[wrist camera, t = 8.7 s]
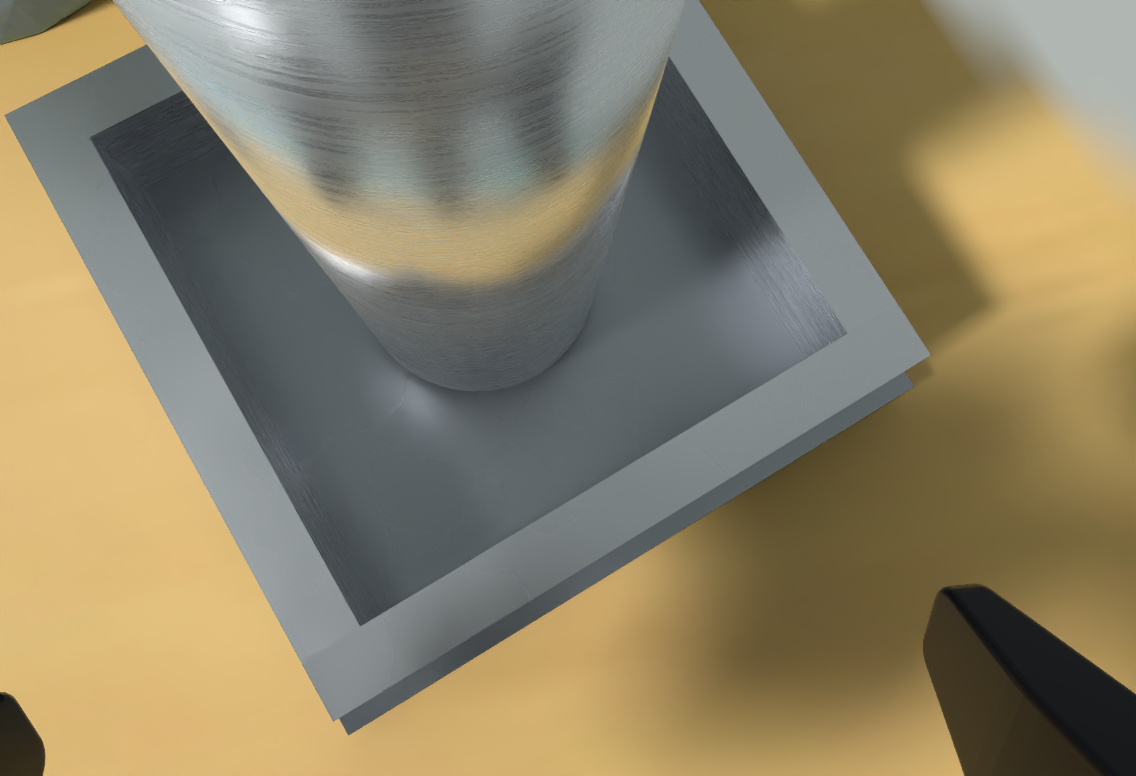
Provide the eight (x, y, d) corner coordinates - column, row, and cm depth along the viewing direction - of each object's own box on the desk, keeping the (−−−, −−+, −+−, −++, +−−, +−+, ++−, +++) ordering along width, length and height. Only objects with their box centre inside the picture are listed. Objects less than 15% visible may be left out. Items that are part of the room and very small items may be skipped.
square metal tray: (896, 392, 18) (973, 366, 15) (356, 724, 16) (319, 769, 13) (583, -92, 19) (594, -207, 16) (57, 176, 17) (-39, 104, 14)
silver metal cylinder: (618, 363, 16) (900, -117, 4) (384, 414, 16) (-68, 53, 4) (565, 143, 17) (675, -843, 5) (338, 188, 17) (-180, -755, 4)
